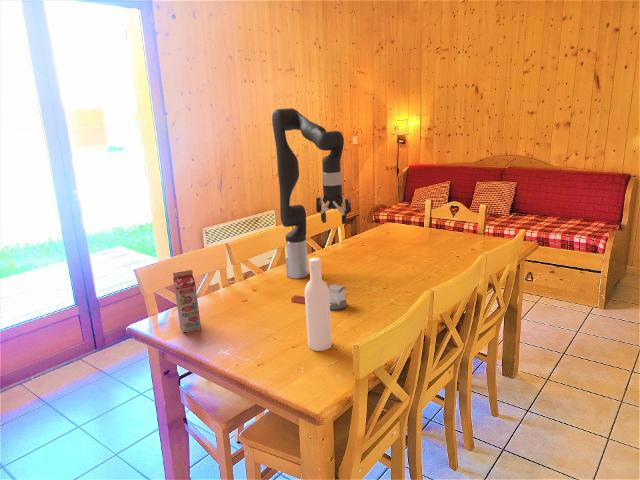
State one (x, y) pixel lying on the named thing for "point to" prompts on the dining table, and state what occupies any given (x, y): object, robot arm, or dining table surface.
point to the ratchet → (332, 307)
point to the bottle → (317, 309)
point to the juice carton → (186, 301)
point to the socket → (336, 294)
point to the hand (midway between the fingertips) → (334, 223)
